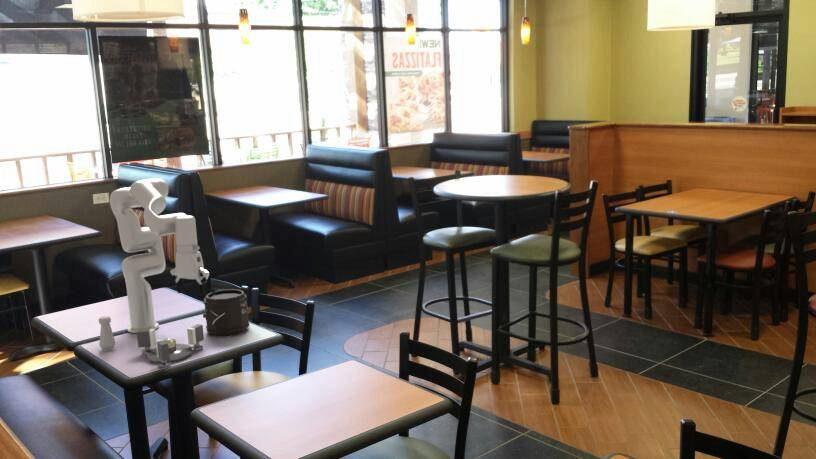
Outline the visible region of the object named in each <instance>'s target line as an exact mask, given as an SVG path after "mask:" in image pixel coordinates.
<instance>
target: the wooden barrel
mask: <svg viewBox="0 0 816 459" xmlns="http://www.w3.org/2000/svg"><path fill="white" fill-rule="evenodd" d="M247 300H248V297H247V294H246V293H245V292H244V290H242V289H235V288H230V289H228V288H227V289H220V290H215V291H213V292H211V291H210V293H206V295H205V297H204V298H203V304H204V313H202V318H203V319H205V322H206V325H205V329H206V332H207V333H208V334H209V336H212V337H216V338H226V337H227V338H229V337H234V336H238V335H242V334H244V333H245V332H247V331H248V328H249V327H250V324H251V323H250V322H249V308H248V307H249V306H248V303H247Z"/></svg>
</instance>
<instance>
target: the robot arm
mask: <svg viewBox="0 0 816 459" xmlns="http://www.w3.org/2000/svg"><path fill="white" fill-rule="evenodd" d="M169 190H170V189H169V186H168V183H167V181H165V180H164V179H162V178H159V177H155V178H148V179H147V178H146V179H140V180H136V181H134V182H133V183H132V184H131V185H130V186H128V187H122V188H118V189H115V190H113V191H112V192H110V193H111V194H110V195H109V204H110V208H111V211H112V213H113V215H114V217H115V219H116V222H117V228H118V233H119V239H120V240H119V241H120V243H121V247H122V249H123V251H124V252H125V253H137V252H143V251H148V252H145V253H140V254H135V255H130V256H128V257H126V258H124V259H123V261H122V262H121V270H122V274H123V277H124V280H125V286H126V294H127V295H126V296H127V302H128V311H129V312H128V313H129V319H130V325H129V326H128V327H127V332H128V333H132V334H137V331H138V330H148V329H155V330H157V329H159V327H160V324H159V323H158V322H157V321H155V312H154V306H153V305H154V303H153V302H154V301H153V294H152V292H153V291H152V287H151V284H150V283H149V282H148V281H147V280H146V279H145V277H149V276H154V275H159V274H162V273H163V272H164V271H165V270H166V258H165V252H164V247H163V240H162V237H163V236H169V235H174V234H175V242H176V254H175V267H174V268H172V269H171V270H170V274H171V276H172V278H173V280H174V281H175V284H176V287H177V293H178V294H182V293H184V292H185V291H186V290H185V280H196V282H197V283H198V284H197V291H198V295H199V296H202V295H203V294H206V283H207V281H208V279H209V276H210V272H209V271H208V270H207V269H205V266H204V260H203V256H202V253H201V251H199V250H200V249H201V247H200V246H199V245H198V237H197V235H198V234H197V227H196V226H197V225H196V218H195V216H193V215H189V214H186V213H184V212H177V213H169V214H163V215H160V214H161V213H162V212H164V210H165V209H166V206H167V200H166V198H167V196H168V195H169ZM133 208H143V209H144V210H143V220H144V223H145V226H144V227H143V226H142V227H141V223H140V218H139V215H138V214H137V213H136V212H135V211H134V210H133ZM184 279H185V280H184Z"/></svg>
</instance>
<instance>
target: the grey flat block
mask: <svg viewBox="0 0 816 459" xmlns="http://www.w3.org/2000/svg"><path fill="white" fill-rule="evenodd" d="M155 331H156V329H148V330H138V331H137V333H136V338H137V347H138V348H144V350H145V351H149V350H150V349H151V347H156V341H157V339H156V332H155Z"/></svg>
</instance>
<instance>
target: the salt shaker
mask: <svg viewBox="0 0 816 459" xmlns="http://www.w3.org/2000/svg"><path fill="white" fill-rule="evenodd" d="M111 322H112V319H111V317H110V316H106V315H104V316H101V317H99V318H98V324H99V325H100V333H99V334H100V335H99V343H98V344H99V347H100V349H102V351H103V352H109V351H112V349H113V348H114V349H115V346H116V339H115V336H114V333H113V330H112V327H111ZM114 349H113V350H114Z"/></svg>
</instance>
